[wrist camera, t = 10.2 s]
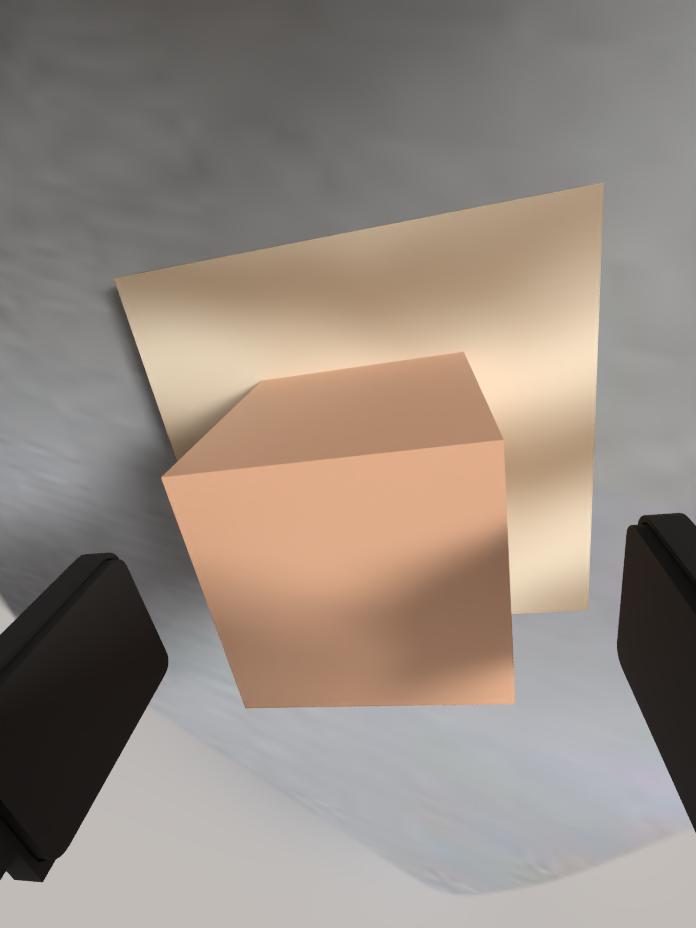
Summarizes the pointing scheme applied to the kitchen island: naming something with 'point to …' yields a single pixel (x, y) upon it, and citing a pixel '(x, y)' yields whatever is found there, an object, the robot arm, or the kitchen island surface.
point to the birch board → (414, 345)
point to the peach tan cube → (355, 538)
